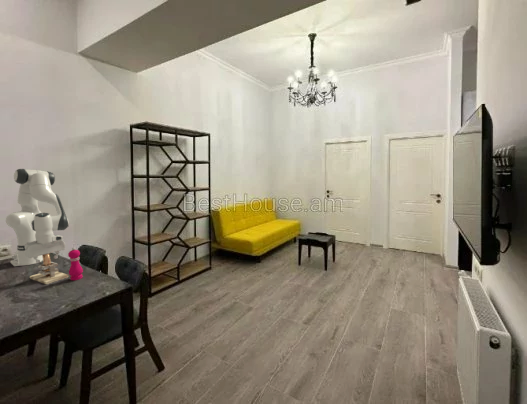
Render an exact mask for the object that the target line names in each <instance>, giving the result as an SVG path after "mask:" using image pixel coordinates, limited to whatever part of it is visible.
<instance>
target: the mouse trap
mask: <svg viewBox="0 0 527 404" xmlns="http://www.w3.org/2000/svg"><path fill="white" fill-rule="evenodd" d="M57 267H59V263H57V262H53V261H51V265H49V266H44V263H42V264H38V265H37V268H38V269H40V270H38V273H37V274H33V275H29V279H31V280H33V281H36V282H39V283H42V284H45V285H49V284H52V283H55V282H59V281H60V280H64V279H67V278H70V277H69V276H70V275H69V274H66V273H63V272H60V270H59V268H57ZM48 268H49V269H50V271H47V272H45V269H48ZM47 274H50V276H48V277H46V276H45V275H47Z"/></svg>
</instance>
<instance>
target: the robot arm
mask: <svg viewBox="0 0 527 404" xmlns="http://www.w3.org/2000/svg"><path fill="white" fill-rule="evenodd" d="M13 179H14V181H15V182H16V183H17V184H20V185H19V190H18V195H17V203H18V204H19V205H20V206H21V211H19V210H18V211H15V212H12V213H10V214H8V215H7V216H6V217H5V222H6V223H5V224H6V225H7V226H8V227H9V228H10V227H11V228H12V230H14V233H15V235H16V239H17V247H16V252H14V254H13V255H12V256H11V260H10V264H11V265H12V266H13V267H19V266H29V265H35V264H40V263H42V262H43V256H42V255H45V254H49V253H50V254H52V253H55V255H53V259H58V258H59V257H58V256H59V254H60V252H61V251H64V250H66V242H65V240H64V236H63V235H59V234H58V235H57V234H55V233H54V232H55V231H65V230H67V228H68V227H69V224H70V221H69V218H68V217H67V215H66V212H65V210H64V207H63V204H62V201H61V198H60V196H59V195H58V194H57V193H55V192H54V191H53V189H52V186H54V184H55V181H56V176H55V174H54V173H53V172H51V171H48V170H47V171H46V170H45V171H44V170H40V169H28V168H27V169H26V168H18V169H16V170H15V172H14V173H13ZM39 202H42V203H47V204H50V205H53V206H54V208H55V211H56V214H57V215H52V214H50V213H49V212H42V211H41V210H40V208H39Z"/></svg>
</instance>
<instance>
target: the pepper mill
mask: <svg viewBox="0 0 527 404" xmlns="http://www.w3.org/2000/svg"><path fill="white" fill-rule="evenodd" d="M80 255H81V252H80V250H78V249H76V247H72V248H71V250H69V251H68V254H67V256H68V257H69V261H70V267H69V270H68V276H70V277H69V278H70V281H78V280H81V279H83V277H84V276H83V272H84V269H83V267H82V266H81V263H80Z"/></svg>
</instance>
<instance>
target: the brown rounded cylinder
mask: <svg viewBox="0 0 527 404" xmlns="http://www.w3.org/2000/svg"><path fill="white" fill-rule="evenodd" d="M42 256H43V261H42V262H43V263H44V266H49V265H51V262H52V259H51V253H49V254H45V255H42ZM43 263H42V264H43ZM47 271H50V269H49V268H48V269H45V272H47ZM45 276H46V277H48V276H50V274H47V275H45Z"/></svg>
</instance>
